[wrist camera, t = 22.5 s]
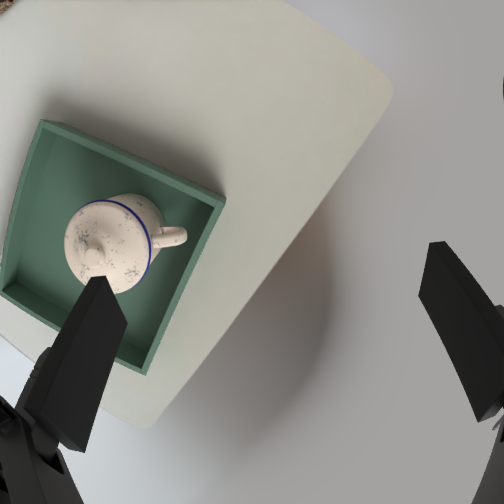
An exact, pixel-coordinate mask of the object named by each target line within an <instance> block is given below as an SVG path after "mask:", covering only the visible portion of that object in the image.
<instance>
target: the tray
mask: <svg viewBox="0 0 504 504" xmlns="http://www.w3.org/2000/svg"><path fill="white" fill-rule="evenodd" d="M126 193H134V194H138V195H142V196H144V197H146V198H148V199H149V200H150V201H152V202H153V203H154V204H155V205H156V206H157V208H158V209H159V210H160V212H161V214H162V216H163V219H164V222H165V226H179V227H183V228H184V229H186V231H187V240H186V241H185V242H184V243H182V244H180V245H176V246H171V247H162V248H161V250H160V252H159V253H158V254H157V256H156V257H155V258H154V260H153V261H152V262H151V264H150V265H149V268H148V270H147V272H146V274H145V276H144V277H143V279H142V280H141V281H140V282H139V283H138V284H137V285H136V286H134V287H133V288H131V289H130V290H127V291H125V292H122V293H116V294H114V295H115V297H116V299H117V301H118V303H119V306H120V308H121V310H122V312H123V314H124V316H125V318H126V320H127V322H128V325H127V327H126V330H125V333H124V335H123V338H122V341H121V343H120V346H119V349H118V352H117V354H116V357H115V360H114V361H115V362H117V363H119V364H121V365H123V366H125V367H127V368H129V369H132V370H134V371H136V372H138V373H141V374H143V375H145V376H146V374H147V371H148V369H149V367H150V364H151V362H152V360H153V357H154V355H155V353H156V351H157V348H158V346H159V344H160V341H161V339H162V337H163V335H164V332H165V330H166V328H167V326H168V323H169V321H170V319H171V317H172V315H173V312H174V310H175V308H176V306H177V304H178V301H179V299H180V297H181V295H182V293H183V291H184V288H185V286H186V284H187V282H188V280H189V278H190V276H191V273H192V271H193V269H194V267H195V265H196V263H197V261H198V259H199V257H200V255H201V252H202V250H203V248H204V246H205V244H206V242H207V240H208V238H209V236H210V234H211V232H212V230H213V228H214V226H215V224H216V222H217V220H218V218H219V216H220V214H221V212H222V210H223V208H224V206H225V202H226V198H225V197H223V196H221V195H219V194H217V193H215V192H213V191H211V190H208V189H206V188H204V187H202V186H200V185H198V184H196V183H194V182H192V181H190V180H188V179H185V178H183V177H181V176H179V175H177V174H175V173H173V172H171V171H168V170H166V169H164V168H162V167H160V166H158V165H156V164H153V163H151V162H149V161H147V160H145V159H142V158H140V157H138V156H136V155H134V154H132V153H129V152H127V151H125V150H123V149H120V148H118V147H116V146H114V145H111V144H109V143H107V142H105V141H102V140H100V139H98V138H96V137H93V136H91V135H89V134H86V133H84V132H82V131H80V130H77V129H75V128H73V127H70V126H68V125H66V124H63V123H61V122H55V121H49V120H43V119H41V120H40V122H39V125H38V127H37V130H36V132H35V135H34V138H33V141H32V143H31V146H30V149H29V152H28V155H27V158H26V161H25V164H24V167H23V170H22V174H21V177H20V180H19V184H18V187H17V191H16V195H15V198H14V202H13V206H12V210H11V215H10V219H9V224H8V228H7V233H6V238H5V243H4V249H3V255H2V261H1V268H0V295H1V296H2V297H4V298H5V299H7V300H8V301H10V302H11V303H13V304H14V305H16V306H17V307H19V308H20V309H22V310H23V311H25V312H26V313H28V314H30V315H31V316H33V317H34V318H36V319H38V320H39V321H41V322H43V323H44V324H46V325H48V326H49V327H51V328H53V329H54V330H56V331H58V332H60V330H61V328H62V326H63V324H64V323H65V321H66V319H67V317H68V315H69V314H70V312H71V310H72V308H73V306H74V305H75V303H76V301H77V300H78V298H79V296H80V294H81V293H82V291H83V289H84V288H85V286H86V285H84V284H83V283H82V282H81V281H80V280H79V279H78V278H77V277H76V276H75V275H74V273H73V272H72V270H71V269H70V267H69V264H68V262H67V259H66V255H65V250H64V238H65V232H66V229H67V226H68V224H69V222H70V220H71V218H72V216H73V215H74V214H75V213H76V211H77V210H79V209H80V208H81V207H82V206H84V205H85V204H87V203H90V202H92V201H96V200H106V199H109V198H112V197H115V196H118V195H121V194H126Z"/></svg>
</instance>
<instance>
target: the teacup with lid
mask: <svg viewBox="0 0 504 504" xmlns="http://www.w3.org/2000/svg"><path fill="white" fill-rule="evenodd" d="M186 240H187V231H186V229H184V228H183V227H179V226H165V222H164V219H163V216H162V214H161V212H160V210H159V209H158V208H157V206H156V205H155V204H154V203H153V202H152V201H150V200H149V199H148V198H146V197H144V196H142V195H138V194H134V193H126V194H121V195H118V196H115V197H112V198H109V199H106V200H96V201H92V202H90V203H87V204H85V205H84V206H82V207H81V208H80V209H79V210H77V211H76V213H75V214H74V215H73V216H72V218H71V220H70V222H69V224H68V226H67V229H66V232H65V238H64V250H65V255H66V259H67V262H68V264H69V267H70V269H71V270H72V272H73V273H74V275H75V276H76V277H77V278H78V279H79V280H80V281H81V282H82V283H83V284H84V285H86V284H87V283H88V281H89V279H90V278H91V277H94V276H105V275H106V277H107V279H108V281H109V284H110V286H111V288H112V290H113V293H114V294H116V293H122V292H125V291H127V290H130V289H131V288H133V287H134V286H136V285H137V284H138V283H139V282H140V281H141V280H142V279H143V277H144V276H145V274H146V272H147V270H148V268H149V265H150V264H151V262H152V261H153V260H154V258H155V257H156V256H157V254H158V253H159V252H160V250H161V248H162V247H171V246H176V245H180V244H182V243H184V242H185V241H186Z"/></svg>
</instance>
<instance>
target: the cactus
mask: <svg viewBox="0 0 504 504" xmlns="http://www.w3.org/2000/svg"><path fill="white" fill-rule="evenodd" d="M15 1H16V0H0V14H1V13H2V12H3V11H5V10H6V9H7V8H8V7H9V6H11V5H12V4H13V3H14V2H15Z"/></svg>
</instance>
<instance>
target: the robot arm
mask: <svg viewBox="0 0 504 504" xmlns="http://www.w3.org/2000/svg"><path fill="white" fill-rule="evenodd" d="M418 296H419V298H420V300H421V302H422V304H423V305H424V307H425V309H426V311H427V313H428V315H429V317H430V319H431V320H432V322H433V324H434V326H435V328H436V330H437V332H438V334H439V336H440V338H441V340H442V342H443V344H444V346H445V348H446V350H447V352H448V354H449V357H450V359H451V361H452V363H453V365H454V367H455V369H456V372H457V373H458V376H459V378H460V381H461V383H462V385H463V387H464V390H465V392H466V394H467V397H468V399H469V402H470V404H471V407H472V409H473V411H474V414H475V417H476V419H477V422H481V421H483V420H486V419H488V418H491V417H493V416H495V415H496V414H497V413H498V411H499V410H500V409H501V408H502V406H503V409H504V307H503V306H502V305H497V306H494V305H493V303H492V302H491V300H490V299H489V297H488V296H487V295H486V293H485V292H484V291H483V289H482V288H481V286H480V285H479V284H478V282H477V281H476V280H475V278H474V277H473V276H472V274H471V273H470V272H469V270H468V269H467V268H466V267H465V265H464V264H463V263H462V262H461V260H460V259H459V258H458V257H457V255H456V254H455V253H454V252H453V250H452V249H451V248H450V247H449V246H448V244H447V243H446V242H445V241H442V242H433V243H429V249H428V253H427V258H426V263H425V268H424V273H423V278H422V282H421V286H420V291H419V295H418ZM127 325H128V322H127V320H126V318H125V316H124V314H123V312H122V310H121V308H120V306H119V303H118V301H117V299H116V297H115V295H114V293H113V290H112V288H111V286H110V284H109V281H108V279H107V277H106V275H105V276H94V277H91V278H90V279H89V281H88V283H87V284H86V286H85V288H84V289H83V291H82V293H81V294H80V296H79V298H78V300H77V301H76V303H75V305H74V306H73V308H72V310H71V312H70V314H69V315H68V317H67V319H66V321H65V323H64V324H63V326H62V328H61V330H60V332H59V334H58V336H57V337H56V339H55V341H54V343H53V345H52V347H47V349H46V350H45V351H44V352H43V353H42V354H41V355H40V356H39V358H38V360H37V362H36V364H35V366H34V370H32V372H31V374H30V378H28V380H27V382H26V384H25V386H24V389H23V391H22V393H21V395H20V397H19V399H18V402H17V404H16V406H15V408H13V407H12V406H11V405H10V404H9V403H8V402H7V401H6V400H5V399H4V398H3V397H1V396H0V504H84V503H83V501H82V498H81V496H80V494H79V492H78V490H77V488H76V486H75V484H74V481H73V479H72V477H71V474H70V472H69V470H68V468H67V465H66V463H65V460H64V458H63V455H62V453H61V451H60V450H59V449H58V448H57V447H58V444H59V442H60V443H62V444H63V445H64V446H65V447H66V448H68V449H70V450H74V451H79V452H83V453H85V451H86V447H87V443H88V440H89V437H90V433H91V430H92V426H93V423H94V420H95V416H96V413H97V410H98V407H99V404H100V401H101V398H102V395H103V392H104V389H105V386H106V383H107V380H108V377H109V374H110V371H111V368H112V365H113V363H114V360H115V357H116V354H117V352H118V349H119V346H120V343H121V341H122V338H123V335H124V333H125V330H126V327H127ZM499 425H500V427H499V431H498V434H497V437H496V440H495V444H494V447H493V450H492V453H491V456H490V459H489V461H488V464H487V467H486V470H485V472H484V475H483V478H482V480H481V483H480V485H479V487H478V490H477V492H476V495H475V497H474V499H473V502H472V504H504V415H503V416H502V417H501V418H500V420H499V421H498V422H497V423H496V424H495V426H494V427H493V429H492V430H495V429H496V428H497V427H498V426H499Z"/></svg>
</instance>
